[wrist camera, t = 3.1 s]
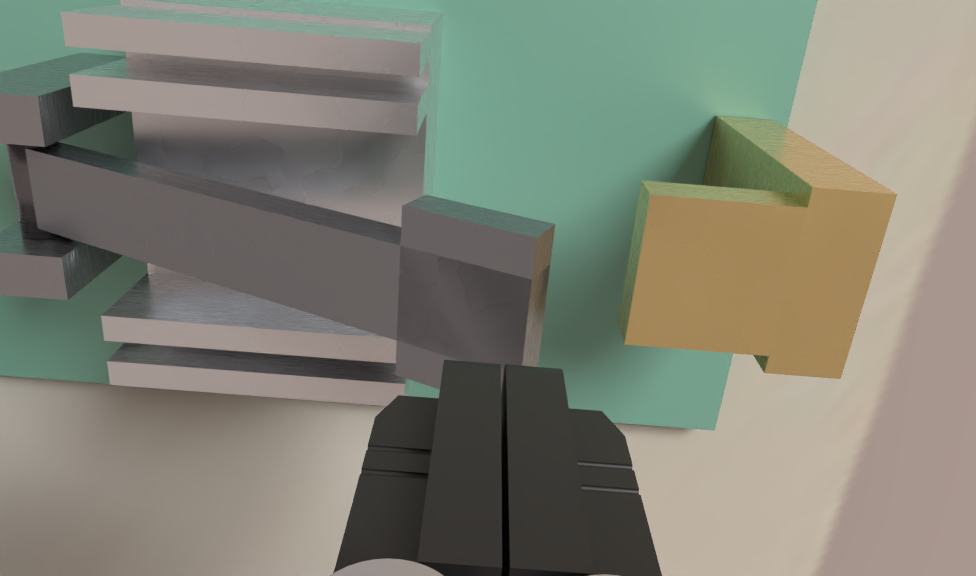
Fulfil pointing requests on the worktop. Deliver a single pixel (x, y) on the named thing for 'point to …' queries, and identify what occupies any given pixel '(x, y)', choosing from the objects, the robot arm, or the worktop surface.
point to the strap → (310, 253)
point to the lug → (756, 253)
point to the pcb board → (510, 167)
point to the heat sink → (237, 171)
